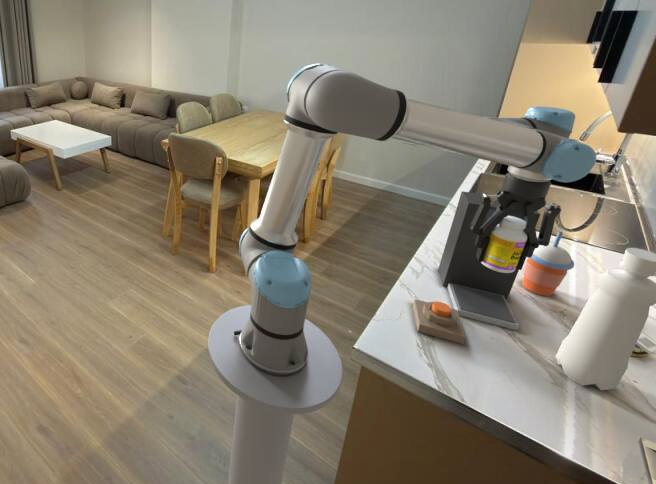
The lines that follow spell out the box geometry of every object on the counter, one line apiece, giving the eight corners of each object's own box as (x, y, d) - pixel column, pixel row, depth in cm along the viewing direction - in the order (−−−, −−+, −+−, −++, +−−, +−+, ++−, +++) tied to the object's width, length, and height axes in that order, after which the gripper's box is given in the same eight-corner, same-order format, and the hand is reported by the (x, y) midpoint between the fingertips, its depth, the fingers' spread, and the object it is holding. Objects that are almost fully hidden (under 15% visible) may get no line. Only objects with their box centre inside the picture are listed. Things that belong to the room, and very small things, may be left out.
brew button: (432, 314, 95) (434, 308, 94) (430, 305, 98) (431, 299, 97) (450, 319, 93) (452, 313, 93) (447, 309, 96) (449, 304, 96)
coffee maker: (451, 313, 100) (481, 224, 91) (437, 270, 117) (461, 191, 108) (522, 331, 94) (562, 238, 85) (497, 283, 111) (528, 201, 102)
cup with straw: (530, 276, 114) (552, 221, 107) (568, 296, 105) (595, 238, 99) (506, 281, 112) (527, 226, 105) (544, 302, 103) (570, 244, 97)
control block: (417, 331, 94) (421, 318, 93) (412, 305, 103) (416, 293, 101) (463, 344, 91) (468, 331, 89) (454, 316, 99) (458, 303, 98)
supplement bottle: (507, 277, 92) (525, 230, 88) (474, 263, 97) (489, 217, 93) (519, 268, 95) (537, 222, 91) (486, 255, 101) (502, 210, 96)
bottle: (544, 352, 88) (597, 237, 78) (600, 366, 85) (662, 247, 74) (564, 384, 81) (625, 262, 70) (626, 401, 77) (700, 274, 67)
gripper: (478, 174, 89) (451, 260, 97) (597, 190, 81) (557, 282, 89) (470, 164, 95) (446, 245, 103) (580, 177, 87) (544, 264, 95)
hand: (497, 262), depth 96 cm, fingers closed on supplement bottle, 7 cm apart
